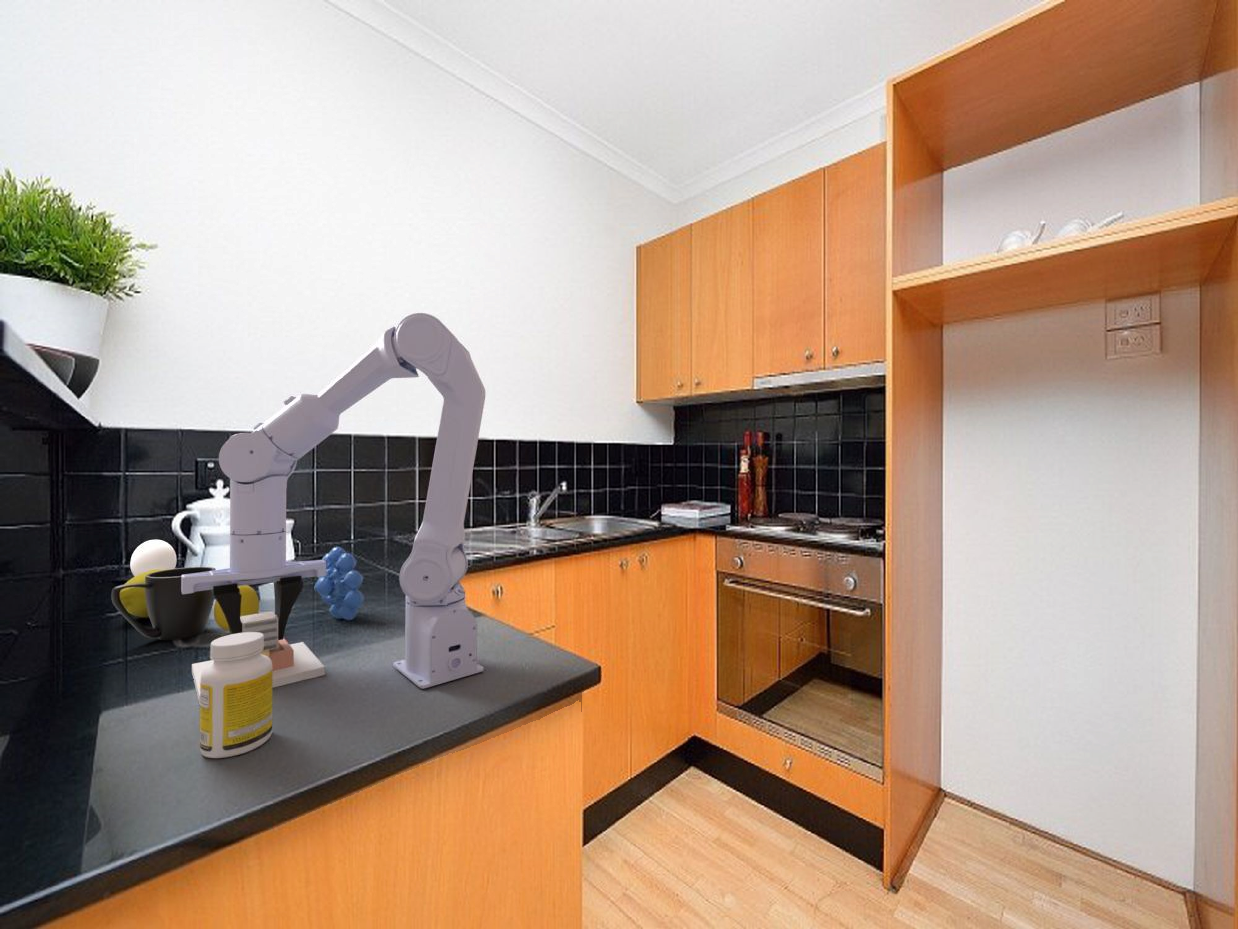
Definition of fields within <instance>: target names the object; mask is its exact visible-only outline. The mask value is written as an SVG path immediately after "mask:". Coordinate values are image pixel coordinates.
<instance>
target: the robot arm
mask: <svg viewBox="0 0 1238 929" xmlns="http://www.w3.org/2000/svg"><path fill="white" fill-rule="evenodd" d="M417 370H418V371H420V372H421V373H423V374H424V375H425V376H426V377H427V379H428V380H429V381H430V382H431V384H432V385H433V386H434V387H435V388H436V390H437V391H438V392H439V393H440V395H441V396H442V398H443V402H442V409H441V412H440V413H441V415H440V419H439V426H438V432H437V435H436V443H435V448H434V455H433V460H432V466H431V472H430V478H429V483H428V489H427V494H426V502H425V507H424V511H423V512H424V513H423V518H422V522H421V525H420V527H419V529H418V531H417V533H416V535H415V537H414V539H413V540H414V541H413V543H412V544H413V545H412V549H411V551H410V552H411V553H410V554H409V556H408V557H407V559H406V560H405V561H404V563H403V564H402V566H401V568H400V571H399V577H398V578H399V579H398V580H399V585H400V588H401V590H402V592H403V594H404V595H405V609H404V610H405V614H404V615H405V616H404V617H405V624H404V626H405V627H404V631H405V633H404V635H405V636H404V637H405V638H404V641H405V642H404V644H405V645H404V648H405V649H404V650H405V651H404V654H405V655H404V658H405V659H400V660H397V661H395V662H393V664H392V665H393V667H394V668H395V669H396V670H397V671H399V672H400V673H401V674H402V675H403V676H405V677H406V678H408V680H410V681H411V682H412V683H413V684H414V685H416V687H418V688H420V689H427V688H431V687H434V686H438V685H441V684H445V683H448V682H450V681H455V680H458V679H461V678H464V677H468V676H472V675H475V674H478V673H482V672H483V671H484V666H483V665H481V664H479V663H478V624H477V620H476V618H475V615H474V614H473V613H472V612H471V611H470V610H469V608H468V607H467V605H466V604H467V603H466V590H465V589H464V587H463V585H462V583H461V580H462V579H463V578H464V577H465V575H466V573H467V570H468V566H469V565H468V564H469V562H468V557H467V553H466V550H465V541H466V532H465V524H464V523H465V517H466V513H467V506H468V500H469V494H470V488H471V482H472V477H473V470H474V466H475V465H474V464H475V461H476V454H477V448H478V442H479V436H480V430H481V424H482V418H483V414H484V413H483V412H484V407H485V402H486V389H485V386H484V384H483V382H482V379H481V377H480V375H479V372H478V370H477V368H476V366H475V364H474V362H473V359H472V357H471V353H470V351H469V349H467V348H466V347H465V346H464V345H463V344H462V343H461V342H460V341H459V339H458V338H457V337H456V336H455V335H454V334H453V332H452V331H450V329H449V328H448V327H447V326H446V325H445V324H444V323H443V322H442V321H441V320H440V319H438V317H436V316H434V315H431V314H430V313H429V314H428V313H425V312H417V313H411V314H408V316H406V317H404V318H403V319H401V321H400V322H399V323H398V324H397V326H392V327H391V328H389V329H387V330H385V331H384V332H383V334H382V335H381V336H380V337H379V339H378V340H377V341H376V342H375V344H374V345H373V346H372V347H371V348H370V349H368V350H367V351H366V352H365V353H364V354H362V356H360V357H359V358H357V360H355V362H353V363H352V364H351V365H350V366H349V367H348V368H347V369H346V370H344V371H343V372H342V373H341V374H340V375H339V376H337V377H336V378H335V379H334V380H333V381H331V383H329V384H328V385H327V386H325V388H324V389H322V390H321V391H320V392H319V393H318V394H310V393H302V394H300V395H299V396H298V395H297V397H296V396H293V395H292V396H289V397H287V398H286V399H285V400H283V404H284V405H285V406H284V407H283V408H282V409H280V410H279V411H277V412H276V413H275V414H274V415H273V416H271V417H269V419H267V420H266V421H265V422H258V423H256V425H254V426H253V428H252V429H253V431H252V432H239V433H235V434H233V435H231V436H230V437H229V438H228V440H227V441H226V442H224V444H223V445H222V447H221V448H220V451H219V453H218V464H219V467H220V469H221V472H222V473H223V474H224V475H225V476H226V477H227V478H229V490H230V491H229V493H230V494H229V514H230V515H229V567H226V568H221V569H216V570H214V571H207V572H201V573H193V574H185V575H181V591H182V594H189V593H194V592H195V591H203V590H211V591H212V593H213V595H214V597H215V598H214V600H215V601H216V600H217V602H218V603H219V605H220V607H221V609H222V611H223V613H224V615H225V618H226V620H227V623H228V626H229V629H230V631H229V633H230V635H231V634H237V633H241V626H240V612H241V597H242V595H241V594H240V589H239V588H238V586H243V585H248V586H250V585H258V584H265V583H273V590H274V591H273V593H274V613H275V614H276V615H277V616H278V640H283V638H284V639H285V637H284V636H285V632H286V628H287V623H288V621H289V618H290V615H291V612H292V610H293V608H294V606H295V604H296V602H297V599H298V598H299V596H300V594H301V592H302V591H303V588H304V581H303V580H302V579H305V578H312V577H313V578H314V577H316V578H319V577H323V576H326V562H325V561H323V560H322V559H314V560H303V561H287V490H288V487H287V486H288V484H287V483H288V479H289V477H291V475H292V474H293V472H294V471H295V469H296V467H297V463H298V461H299V460H300V459H301V458H302V457H304V456H305V455H306V454H307V453H309V452H310V451H312V450H313V449H314V448H315V447H316V446H317V445H319V444H321V442H323V441H324V440H325V439H326V438H328V437H329V436H331V435H332V434H333V433H334V432H335V431H337V430H338V428H339V425H340V423H339V422H340V421H339V420H340V415H341V414H342V413H344V412H345V411H347V410H348V409H350V408H351V407H352V406H354V405H355V404H356V403H358V402H360V401H361V400H362V399H364V398H365V397H367V396H368V395H369V394H371V393H372V392H374V391H375V390H377V389H378V388H380V387H381V386H382V385H384V384H385V383H387V382H388V381H389V380H392V379H402V378H403V379H409V378H410V379H411V378H419V377H420V376H419V373H418V371H417Z"/></svg>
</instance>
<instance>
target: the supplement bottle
mask: <svg viewBox="0 0 1238 929" xmlns="http://www.w3.org/2000/svg"><path fill="white" fill-rule="evenodd" d="M263 647H264V635H263V634H262V633H259V632H245V633H237V634H231V633H230V634H228V635H224V636H221V637H218V638H216V639H213V640H212V641H211V643H210V652H209V653H210V660H214V663H212V664H211V665H209V666H208V667H206V668H205V669H204V671H203V672H202V674H201V680H200V706H199V707H200V708H199V712H200V713H199V716H200V717H199V747H200V750H199V751H200V753H201V755H202V756H204V757H205V758H210V759H223V758H230V757H231V758H232V757H235V756H238V755H242V754H246V753H248V752H251V751H253V750H255V749H257V748H258V747H261V746H262V745H263V744H265V743H266V742H267V741H268V740H269V739H270V738H271V736H272V733H273V691H274V690H273V688H274V687H273V668H272V661H271V659H270V658H269V657H267V656H265V655H262V654H261V652H262V651H263V649H264V648H263Z"/></svg>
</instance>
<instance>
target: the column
mask: <svg viewBox="0 0 1238 929" xmlns="http://www.w3.org/2000/svg"><path fill="white" fill-rule="evenodd" d="M240 626H241V633H245V632H259V633H262V634H263V635H264V647H263V648H264V649H263V650H267V649H268V650H269V653H272V652H277V651H278V616H277V615H276V614H275V611H274V610H272V611H267V612H266V611H265V612H258V614H252V615H246V616H240Z"/></svg>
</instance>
